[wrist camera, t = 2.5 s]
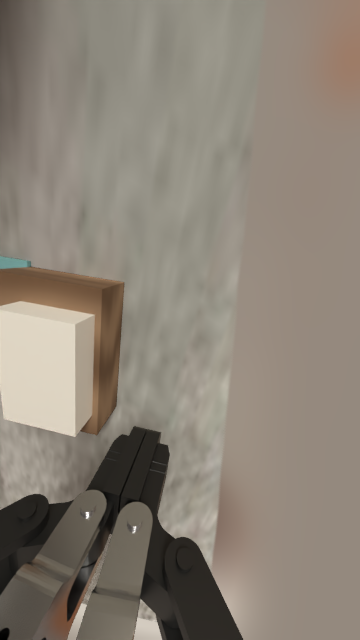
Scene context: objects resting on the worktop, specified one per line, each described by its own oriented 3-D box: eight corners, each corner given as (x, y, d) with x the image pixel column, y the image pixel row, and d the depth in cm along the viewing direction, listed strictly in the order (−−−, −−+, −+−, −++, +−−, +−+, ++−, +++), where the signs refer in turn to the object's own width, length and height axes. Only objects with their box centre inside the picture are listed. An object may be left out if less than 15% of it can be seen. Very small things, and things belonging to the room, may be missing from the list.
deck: (30, 266, 21) (-12, 269, 17) (124, 282, 20) (102, 289, 16) (37, 387, 24) (5, 412, 21) (116, 405, 23) (96, 435, 20)
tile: (21, 301, 17) (-10, 308, 15) (94, 314, 16) (75, 324, 14) (28, 400, 20) (3, 419, 17) (92, 415, 19) (75, 436, 17)
